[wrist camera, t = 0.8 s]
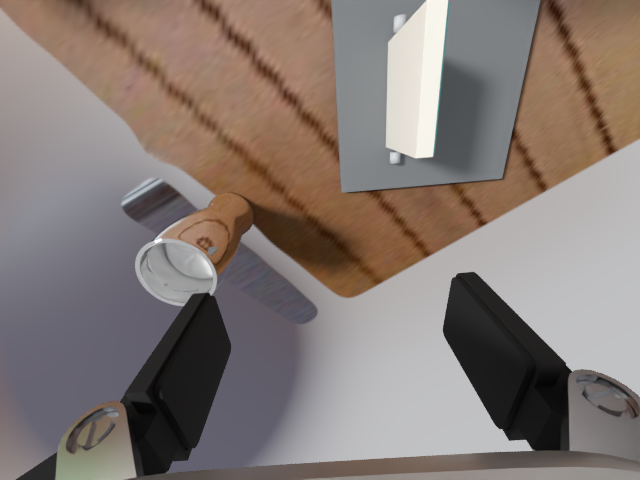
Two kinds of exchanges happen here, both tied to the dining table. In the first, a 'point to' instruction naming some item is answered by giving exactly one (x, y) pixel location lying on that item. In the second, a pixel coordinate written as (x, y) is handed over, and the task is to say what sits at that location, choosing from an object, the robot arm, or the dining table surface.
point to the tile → (416, 80)
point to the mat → (456, 91)
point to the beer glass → (194, 250)
